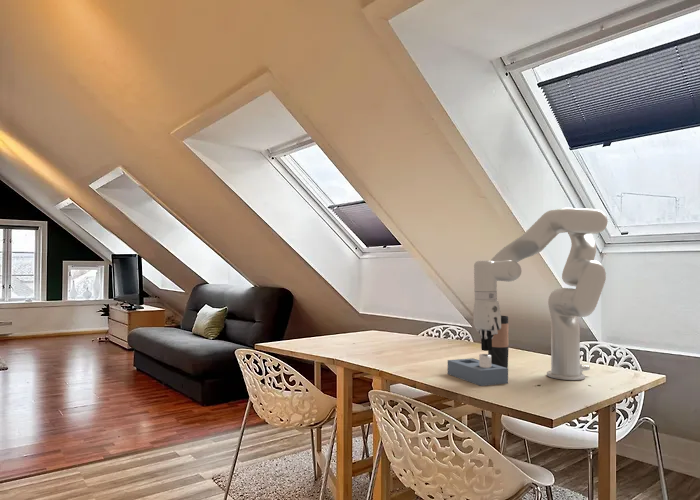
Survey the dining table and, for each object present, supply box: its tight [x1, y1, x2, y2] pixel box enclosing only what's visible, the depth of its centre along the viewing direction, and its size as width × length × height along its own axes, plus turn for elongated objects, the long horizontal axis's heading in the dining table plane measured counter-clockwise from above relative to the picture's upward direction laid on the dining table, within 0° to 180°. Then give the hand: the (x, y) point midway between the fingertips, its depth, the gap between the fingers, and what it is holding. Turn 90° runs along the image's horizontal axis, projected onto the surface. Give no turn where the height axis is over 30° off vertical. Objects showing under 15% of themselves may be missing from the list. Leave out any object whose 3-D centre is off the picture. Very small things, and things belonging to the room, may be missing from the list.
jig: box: [447, 357, 509, 387], centre depth 185 cm, size 11×20×5 cm, turn 22°
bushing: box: [478, 353, 491, 369], centre depth 180 cm, size 4×4×9 cm
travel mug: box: [487, 315, 510, 369], centre depth 203 cm, size 8×8×20 cm
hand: (486, 350), depth 181 cm, fingers closed
